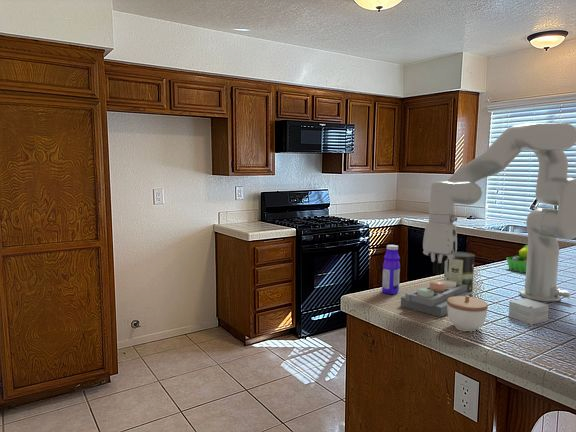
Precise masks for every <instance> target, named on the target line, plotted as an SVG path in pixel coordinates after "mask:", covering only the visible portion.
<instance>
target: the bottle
mask: <svg viewBox="0 0 576 432" xmlns="http://www.w3.org/2000/svg"><path fill="white" fill-rule="evenodd" d="M385 250H386V252H385V254H384V256H383V258H384V260H383V263H382V283H381V284H382V286H381V289H382V290H381V291H382V293H384V294H387V295H395V294H398V292H399V290H400V272H401V263H400V259H401V257H400V255H399V245H395V244H387V245H386V249H385Z"/></svg>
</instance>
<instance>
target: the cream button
mask: <svg viewBox="0 0 576 432" xmlns="http://www.w3.org/2000/svg"><path fill="white" fill-rule="evenodd" d="M440 281H441V282H444V283H446V287H448V288H455V287H456V282H455V281H452V280H444V279H442V280H440Z"/></svg>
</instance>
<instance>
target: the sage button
mask: <svg viewBox="0 0 576 432" xmlns="http://www.w3.org/2000/svg"><path fill="white" fill-rule="evenodd" d="M420 288H421V289H420ZM420 288H417V289H418V290H417V289H416V290H417V295H420V296H424V297H429V298H431V297H433V296H434V291H433V290H431V289H425V288H423V287H420Z"/></svg>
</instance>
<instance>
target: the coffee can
mask: <svg viewBox="0 0 576 432" xmlns="http://www.w3.org/2000/svg"><path fill="white" fill-rule="evenodd" d="M475 257H476V255H475V254H474V253H471V252H466V251H456V253H455V258H453V259H447V260H446V261H445V262H444V268H443V271H444V273H443V280H452V281H455V282H456V283H458V284H463V285H467V291H465V292H468V293H472V294H473V293H474V292H473V290H474V289H473V288H474V272H475V269H474V267H475Z"/></svg>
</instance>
